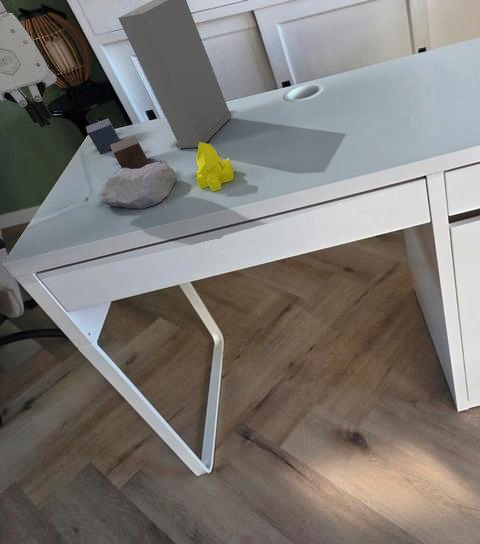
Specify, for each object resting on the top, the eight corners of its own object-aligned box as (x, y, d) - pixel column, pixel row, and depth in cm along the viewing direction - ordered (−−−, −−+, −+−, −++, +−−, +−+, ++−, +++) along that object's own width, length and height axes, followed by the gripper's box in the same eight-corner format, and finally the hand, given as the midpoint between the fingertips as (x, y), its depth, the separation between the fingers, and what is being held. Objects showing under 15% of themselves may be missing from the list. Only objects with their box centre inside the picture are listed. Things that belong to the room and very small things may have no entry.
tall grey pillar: (209, 119, 110) (157, -4, 94) (232, 117, 108) (183, -9, 92) (177, 149, 100) (113, 18, 84) (202, 148, 98) (142, 13, 82)
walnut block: (126, 175, 95) (112, 152, 92) (122, 167, 99) (109, 144, 95) (151, 165, 96) (138, 142, 93) (146, 157, 100) (134, 135, 97)
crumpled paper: (233, 165, 89) (217, 125, 84) (233, 185, 83) (215, 144, 78) (202, 173, 89) (184, 134, 84) (200, 195, 83) (180, 154, 78)
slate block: (100, 154, 106) (87, 133, 103) (98, 147, 110) (85, 126, 107) (122, 145, 108) (110, 124, 105) (119, 138, 111) (108, 118, 108)
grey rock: (165, 214, 84) (181, 174, 90) (149, 194, 80) (167, 154, 86) (107, 222, 87) (126, 183, 93) (88, 204, 83) (110, 164, 89)
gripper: (-82, 28, 70) (0, 145, 82) (27, 0, 74) (90, 115, 86) (-73, 22, 76) (2, 132, 87) (27, -4, 80) (87, 105, 92)
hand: (45, 123), depth 87 cm, fingers closed
